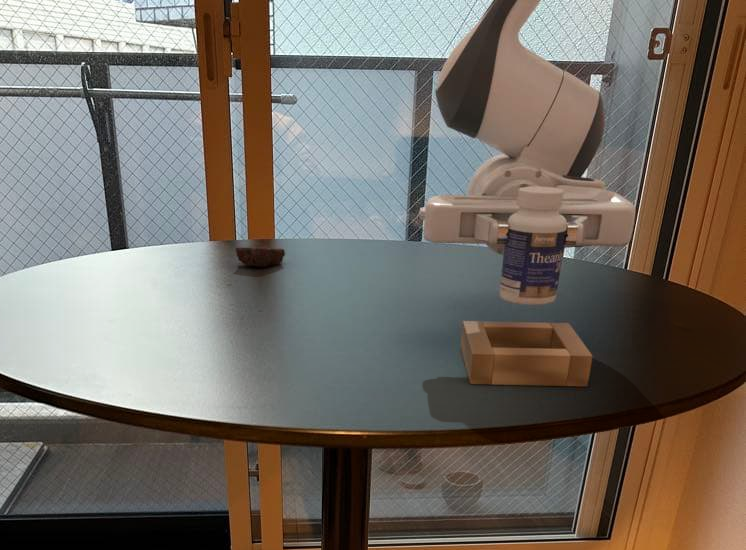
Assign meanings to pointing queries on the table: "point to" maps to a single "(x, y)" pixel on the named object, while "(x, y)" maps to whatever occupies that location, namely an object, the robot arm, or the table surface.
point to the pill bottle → (534, 247)
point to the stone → (260, 256)
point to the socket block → (524, 354)
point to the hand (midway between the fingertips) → (537, 235)
